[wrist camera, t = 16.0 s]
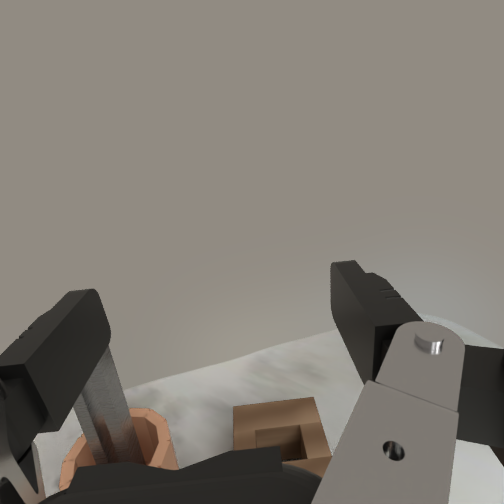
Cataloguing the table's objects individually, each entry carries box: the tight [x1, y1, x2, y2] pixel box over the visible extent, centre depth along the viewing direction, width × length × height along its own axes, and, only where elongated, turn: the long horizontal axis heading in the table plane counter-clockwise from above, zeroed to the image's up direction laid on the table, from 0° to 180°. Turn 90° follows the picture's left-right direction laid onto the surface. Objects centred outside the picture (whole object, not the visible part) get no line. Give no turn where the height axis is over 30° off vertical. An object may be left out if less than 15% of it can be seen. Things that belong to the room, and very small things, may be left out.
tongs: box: [73, 345, 146, 465], centre depth 26 cm, size 3×3×21 cm
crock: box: [59, 408, 179, 491], centre depth 29 cm, size 9×9×8 cm
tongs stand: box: [233, 397, 332, 478], centre depth 31 cm, size 10×9×5 cm
